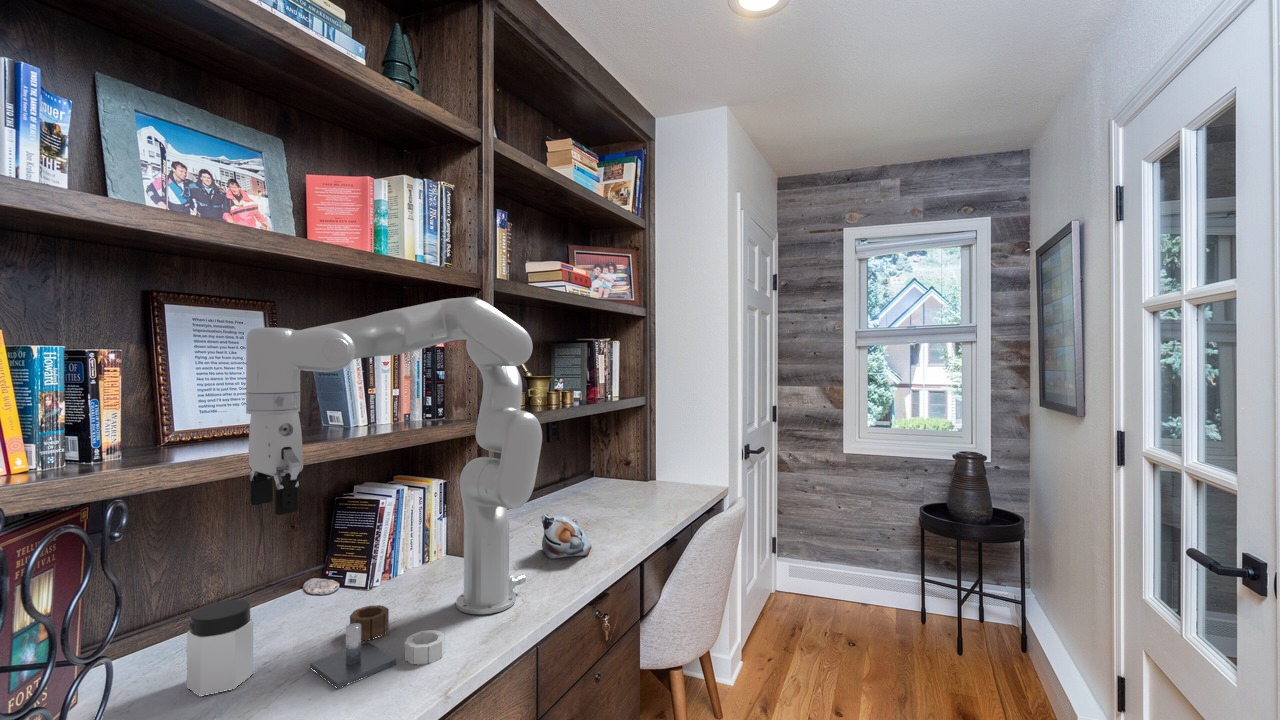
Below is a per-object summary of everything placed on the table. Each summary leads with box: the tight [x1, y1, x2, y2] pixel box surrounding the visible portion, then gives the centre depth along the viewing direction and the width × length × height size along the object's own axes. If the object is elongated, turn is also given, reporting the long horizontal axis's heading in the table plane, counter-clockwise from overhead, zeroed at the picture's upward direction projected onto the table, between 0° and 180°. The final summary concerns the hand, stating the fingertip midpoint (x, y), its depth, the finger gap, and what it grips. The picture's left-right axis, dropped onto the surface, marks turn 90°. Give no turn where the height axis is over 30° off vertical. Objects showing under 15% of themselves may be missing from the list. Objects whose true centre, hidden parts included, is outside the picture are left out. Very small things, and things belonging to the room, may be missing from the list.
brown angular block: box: [349, 605, 390, 640], centre depth 116 cm, size 6×6×4 cm
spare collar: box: [404, 629, 446, 665], centre depth 107 cm, size 6×6×3 cm
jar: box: [186, 599, 254, 697], centre depth 98 cm, size 9×8×12 cm
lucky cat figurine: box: [541, 513, 593, 560], centre depth 161 cm, size 15×12×14 cm
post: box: [309, 623, 397, 689], centre depth 103 cm, size 10×10×7 cm
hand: (273, 508), depth 97 cm, fingers open, 9 cm apart
